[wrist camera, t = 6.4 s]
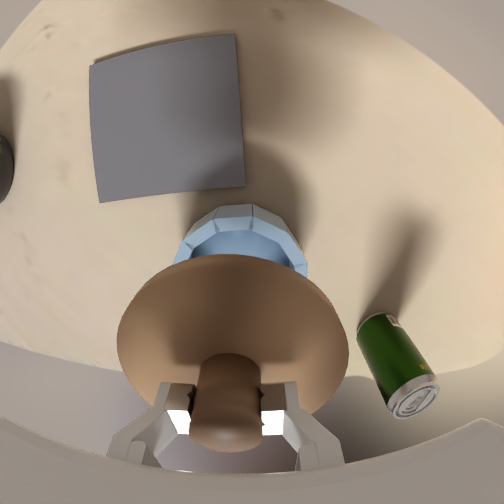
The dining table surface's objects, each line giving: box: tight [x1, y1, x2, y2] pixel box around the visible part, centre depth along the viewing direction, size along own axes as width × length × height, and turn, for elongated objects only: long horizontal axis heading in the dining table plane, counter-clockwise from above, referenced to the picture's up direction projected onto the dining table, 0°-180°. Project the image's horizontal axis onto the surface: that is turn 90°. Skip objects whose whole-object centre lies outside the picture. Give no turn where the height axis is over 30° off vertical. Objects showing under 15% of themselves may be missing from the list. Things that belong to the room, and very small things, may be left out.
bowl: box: [173, 204, 307, 278], centre depth 25 cm, size 11×11×5 cm
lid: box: [117, 254, 349, 452], centre depth 11 cm, size 11×11×5 cm
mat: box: [89, 34, 246, 203], centre depth 22 cm, size 14×14×1 cm
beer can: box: [357, 312, 440, 419], centre depth 25 cm, size 5×5×12 cm
